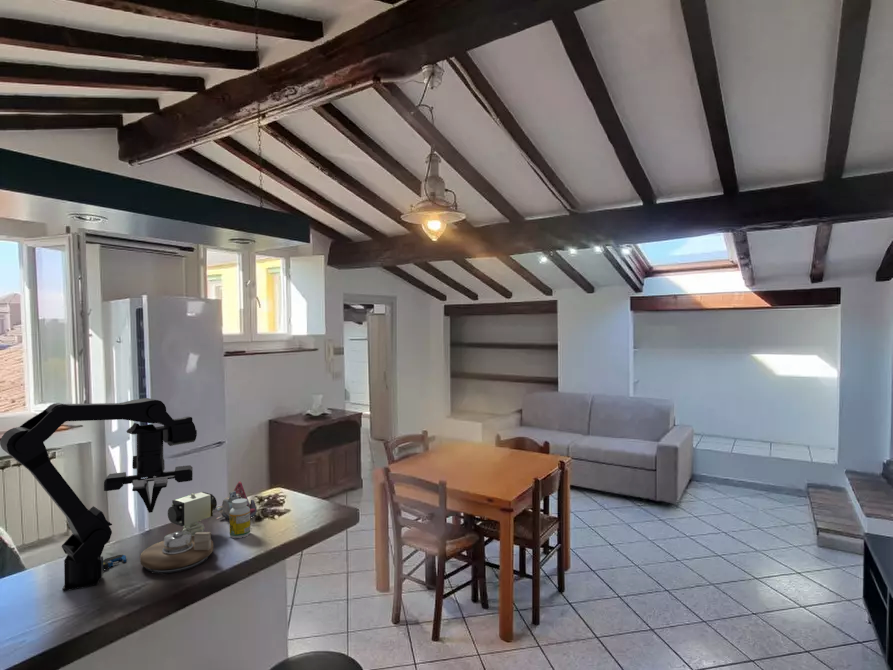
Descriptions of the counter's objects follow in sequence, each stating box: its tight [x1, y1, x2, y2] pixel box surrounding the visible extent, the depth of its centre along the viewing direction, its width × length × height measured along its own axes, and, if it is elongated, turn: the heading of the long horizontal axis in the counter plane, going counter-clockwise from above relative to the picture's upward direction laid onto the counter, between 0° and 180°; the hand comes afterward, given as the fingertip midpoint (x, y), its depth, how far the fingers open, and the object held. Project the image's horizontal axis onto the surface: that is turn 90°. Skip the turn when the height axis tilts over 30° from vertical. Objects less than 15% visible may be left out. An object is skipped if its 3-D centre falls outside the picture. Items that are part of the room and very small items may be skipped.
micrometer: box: [103, 554, 127, 571], centre depth 123 cm, size 12×2×5 cm
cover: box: [162, 530, 193, 555], centre depth 127 cm, size 7×7×4 cm
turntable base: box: [145, 555, 210, 575], centre depth 126 cm, size 14×14×1 cm
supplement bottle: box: [229, 499, 251, 539], centre depth 142 cm, size 5×5×10 cm
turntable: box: [140, 531, 214, 570], centre depth 126 cm, size 16×16×5 cm
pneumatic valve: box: [167, 491, 218, 536], centre depth 141 cm, size 6×12×12 cm, turn 148°
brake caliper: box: [215, 481, 258, 520], centre depth 154 cm, size 11×11×12 cm
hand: (150, 512), depth 126 cm, fingers closed
